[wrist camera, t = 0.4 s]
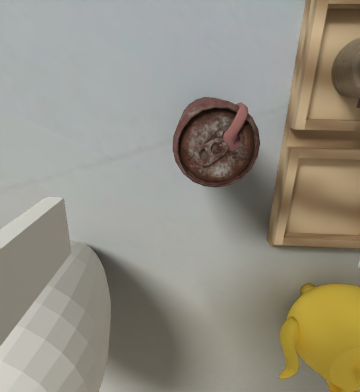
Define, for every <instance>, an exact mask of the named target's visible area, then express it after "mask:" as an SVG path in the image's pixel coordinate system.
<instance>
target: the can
mask: <svg viewBox="0 0 360 392" xmlns="http://www.w3.org/2000/svg"><path fill="white" fill-rule="evenodd" d="M259 146H260V139H259V132H258V128H257V126H256V124H255V122H254V120H253V118H252V117H251V116H250V115H249V114H248V108H247V106H245V105H244V104H242V103H238V104H233V103H231V102H229V101H225V100H221V99H217V98H209V97H204V98H200V99H197V100H195V101H194V102H192V103H190V104H189V105H188V107H187V108H186V109H185V110H184V112H183V114H182V116H181V119H180V121H179V124H178V126H177V129H176V131H175V134H174V137H173V153H174V157H175V161H176V163H177V165H178V166H179V168H180V170H181V171H182V173H183V174H184V175H186V176H187V177H188V178H189V179H190V180H192V181H193V182H195V183H198V184H200V185H203V186H209V187H221V186H225V185H230V184H232V183H234V182H235V181H237V180H239V179H241V178H242V177H243V176H244V175H245V174H246V173H247V172H248V171H249V170H250V169H251V168H252V166H253V164H254V162H255V160H256V158H257V157H258V151H259Z"/></svg>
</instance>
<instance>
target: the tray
mask: <svg viewBox="0 0 360 392" xmlns="http://www.w3.org/2000/svg"><path fill="white" fill-rule="evenodd" d="M357 38H360V0H306V1H305V8H304V14H303V20H302V26H301V32H300V38H299V44H298V50H297V56H296V63H295V69H294V75H293V81H292V87H291V93H290V99H289V105H288V111H287V118H286V124H285V130H284V136H283V142H282V148H281V154H280V160H279V166H278V172H277V179H276V185H275V191H274V197H273V203H272V209H271V215H270V221H269V227H268V234H267V241H268V243H269V245H278V246H303V247H328V248H353V249H360V108H356V107H357V104H358V100H359V98H349V97H345V96H343V95H341V94H340V93H339V92H338V91H337V90H336V89H335V87H334V85H333V83H332V78H331V71H332V66H333V63H334V60H335V58H336V56H337V55H338V53H339V52H340V50H341V49H342V48H343V47H344V46H345V45H346V44H348V43H349V42H351V41H352V40H354V39H357Z"/></svg>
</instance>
